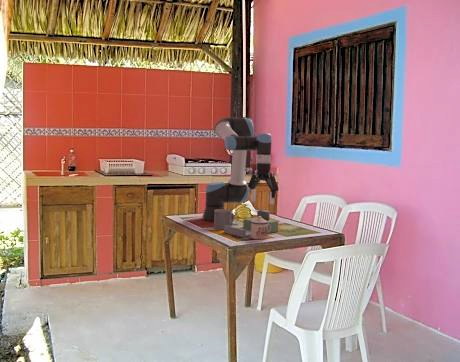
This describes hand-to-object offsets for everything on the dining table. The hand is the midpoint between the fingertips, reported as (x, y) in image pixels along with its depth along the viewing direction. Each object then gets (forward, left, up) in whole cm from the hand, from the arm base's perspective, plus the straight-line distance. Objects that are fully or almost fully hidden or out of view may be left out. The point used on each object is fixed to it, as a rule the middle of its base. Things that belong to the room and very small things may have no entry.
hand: (262, 202), depth 294 cm
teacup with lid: (0, 0, -19) cm, 19 cm away
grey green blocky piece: (-14, +7, -19) cm, 25 cm away
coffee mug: (-33, +4, -19) cm, 39 cm away
